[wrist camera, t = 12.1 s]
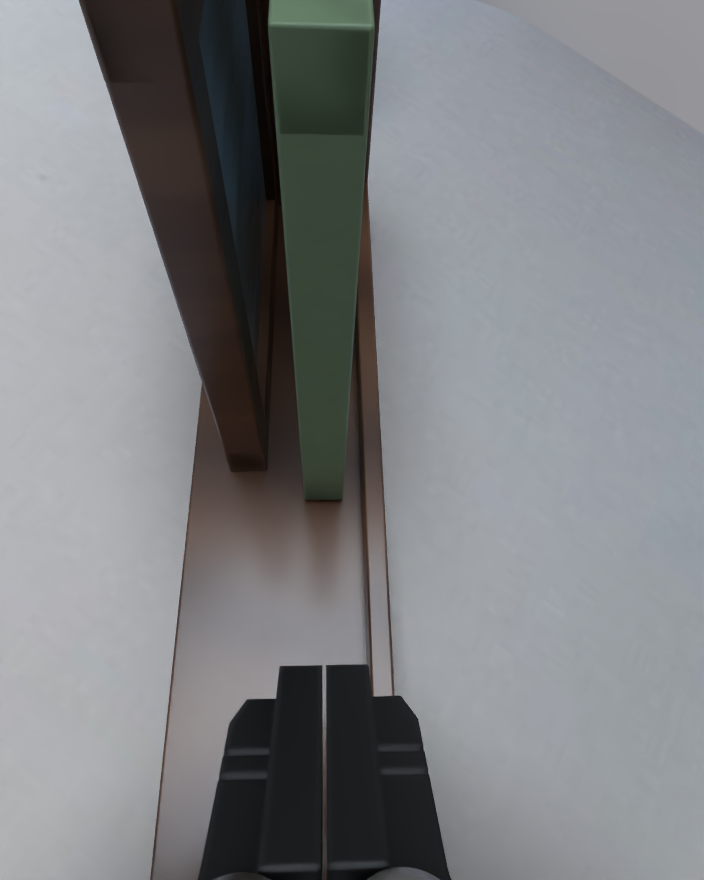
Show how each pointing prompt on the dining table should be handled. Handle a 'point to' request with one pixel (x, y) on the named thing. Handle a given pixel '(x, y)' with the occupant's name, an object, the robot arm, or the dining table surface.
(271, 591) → the window frame
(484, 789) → the dining table surface
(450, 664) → the dining table surface
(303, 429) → the sliding pane
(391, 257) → the dining table surface
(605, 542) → the dining table surface
